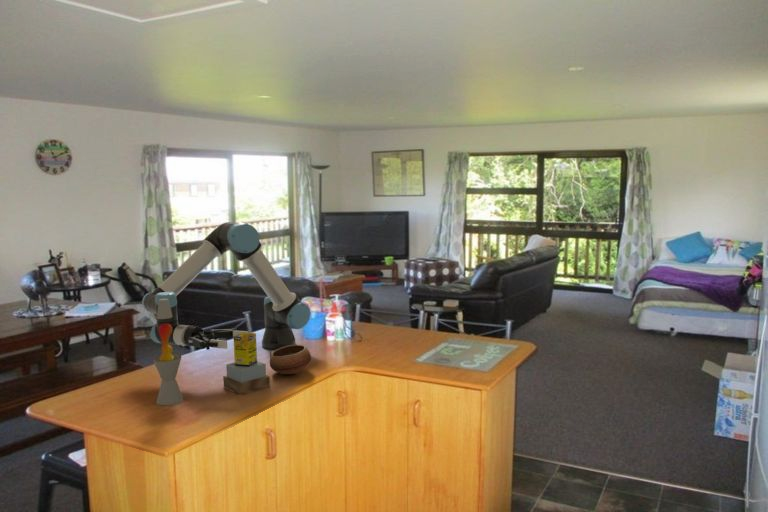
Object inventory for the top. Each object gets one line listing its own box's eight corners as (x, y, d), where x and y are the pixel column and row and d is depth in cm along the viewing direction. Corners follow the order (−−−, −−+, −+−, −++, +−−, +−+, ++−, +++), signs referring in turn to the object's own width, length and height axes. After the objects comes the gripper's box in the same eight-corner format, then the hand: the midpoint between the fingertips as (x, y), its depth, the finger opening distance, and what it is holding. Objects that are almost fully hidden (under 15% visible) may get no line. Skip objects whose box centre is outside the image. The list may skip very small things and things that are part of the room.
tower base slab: (253, 380, 221) (253, 369, 220) (269, 388, 211) (269, 376, 211) (223, 388, 213) (223, 376, 212) (239, 396, 204) (238, 384, 203)
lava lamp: (183, 403, 197) (177, 300, 193) (154, 406, 194) (147, 302, 190) (184, 394, 205) (178, 295, 201) (157, 397, 203) (150, 297, 199)
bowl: (266, 370, 231) (265, 345, 230) (305, 364, 238) (304, 340, 236) (275, 381, 217) (274, 355, 216) (316, 375, 223) (315, 350, 222)
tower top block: (251, 370, 219) (250, 358, 218) (266, 376, 211) (265, 363, 211) (227, 376, 212) (226, 364, 211) (241, 382, 205) (240, 370, 204)
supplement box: (249, 367, 207) (247, 337, 206) (234, 366, 209) (232, 336, 208) (257, 362, 213) (256, 332, 212) (243, 361, 215) (241, 331, 214)
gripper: (210, 337, 231) (257, 341, 223) (166, 354, 207) (217, 359, 200) (209, 318, 230) (256, 322, 222) (165, 333, 207) (216, 338, 199)
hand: (237, 339), depth 211 cm, fingers open, 13 cm apart
